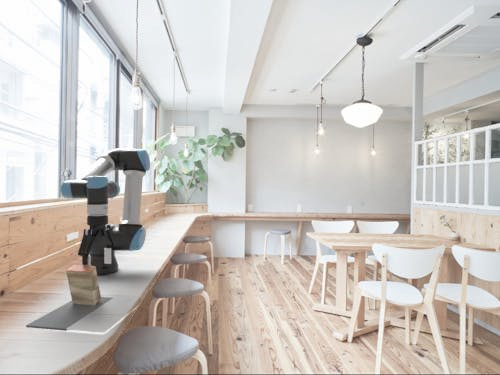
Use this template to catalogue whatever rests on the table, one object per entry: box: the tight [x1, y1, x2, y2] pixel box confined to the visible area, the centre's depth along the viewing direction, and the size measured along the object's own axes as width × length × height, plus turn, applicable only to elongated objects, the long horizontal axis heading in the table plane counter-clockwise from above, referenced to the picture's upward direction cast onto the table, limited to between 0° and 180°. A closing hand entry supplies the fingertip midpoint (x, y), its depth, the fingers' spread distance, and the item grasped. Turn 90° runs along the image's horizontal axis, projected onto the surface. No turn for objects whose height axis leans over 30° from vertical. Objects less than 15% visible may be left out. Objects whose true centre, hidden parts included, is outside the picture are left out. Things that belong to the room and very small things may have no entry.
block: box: [65, 264, 102, 305], centre depth 117 cm, size 4×9×14 cm, turn 82°
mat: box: [25, 296, 113, 332], centre depth 112 cm, size 26×14×1 cm, turn 172°
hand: (97, 268), depth 126 cm, fingers open, 13 cm apart
